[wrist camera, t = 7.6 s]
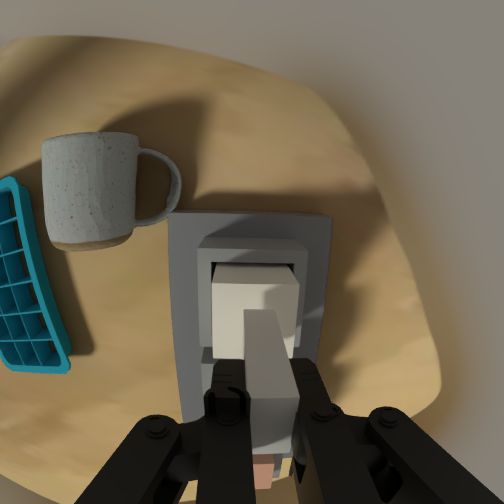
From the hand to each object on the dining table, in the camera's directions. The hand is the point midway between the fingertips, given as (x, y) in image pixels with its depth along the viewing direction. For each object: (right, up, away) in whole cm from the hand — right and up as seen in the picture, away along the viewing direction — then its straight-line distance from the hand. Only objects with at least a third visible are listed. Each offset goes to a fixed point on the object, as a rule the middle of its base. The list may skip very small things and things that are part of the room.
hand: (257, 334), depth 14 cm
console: (-1, -5, +13) cm, 14 cm away
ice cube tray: (-26, +1, +10) cm, 28 cm away
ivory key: (0, +1, +5) cm, 6 cm away
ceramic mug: (-11, +10, +9) cm, 17 cm away
